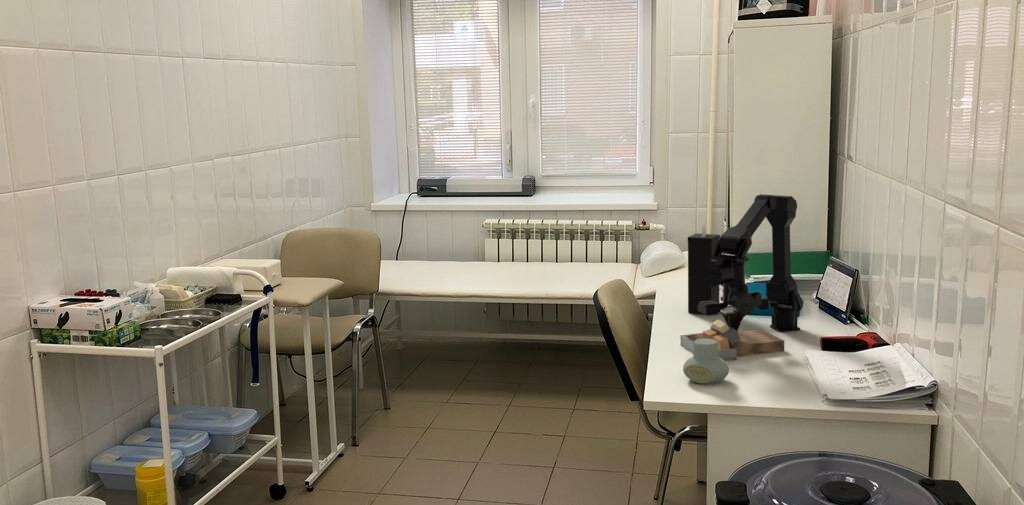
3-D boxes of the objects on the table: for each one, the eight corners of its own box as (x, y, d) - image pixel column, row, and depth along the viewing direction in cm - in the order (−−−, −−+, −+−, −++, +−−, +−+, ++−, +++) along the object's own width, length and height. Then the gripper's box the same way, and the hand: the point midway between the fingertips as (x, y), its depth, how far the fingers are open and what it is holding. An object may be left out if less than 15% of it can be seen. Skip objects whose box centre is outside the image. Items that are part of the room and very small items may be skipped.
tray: (707, 342, 241) (707, 332, 240) (736, 359, 224) (736, 348, 224) (680, 345, 239) (680, 335, 238) (707, 363, 222) (707, 352, 222)
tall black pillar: (719, 310, 276) (720, 224, 271) (711, 315, 270) (711, 228, 265) (696, 307, 280) (696, 223, 275) (687, 313, 274) (687, 226, 269)
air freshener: (677, 381, 209) (677, 342, 207) (692, 372, 216) (692, 334, 214) (719, 389, 203) (719, 348, 201) (733, 379, 209) (734, 340, 207)
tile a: (710, 328, 236) (702, 331, 236) (717, 332, 232) (709, 335, 232) (713, 342, 237) (705, 344, 237) (720, 345, 233) (711, 348, 233)
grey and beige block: (723, 329, 237) (716, 315, 236) (740, 339, 227) (733, 324, 226) (714, 335, 237) (707, 321, 236) (731, 345, 227) (724, 330, 226)
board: (761, 339, 241) (761, 329, 241) (784, 351, 230) (784, 340, 229) (712, 344, 238) (712, 334, 238) (733, 357, 227) (733, 346, 226)
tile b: (720, 334, 230) (712, 336, 230) (727, 338, 227) (719, 340, 226) (723, 347, 231) (715, 350, 231) (730, 352, 227) (722, 354, 227)
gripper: (715, 289, 220) (715, 347, 223) (781, 282, 224) (780, 340, 227) (696, 280, 231) (697, 336, 233) (759, 274, 235) (759, 329, 237)
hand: (733, 335), depth 232 cm, fingers closed
